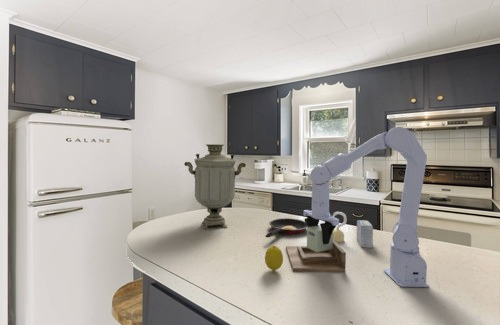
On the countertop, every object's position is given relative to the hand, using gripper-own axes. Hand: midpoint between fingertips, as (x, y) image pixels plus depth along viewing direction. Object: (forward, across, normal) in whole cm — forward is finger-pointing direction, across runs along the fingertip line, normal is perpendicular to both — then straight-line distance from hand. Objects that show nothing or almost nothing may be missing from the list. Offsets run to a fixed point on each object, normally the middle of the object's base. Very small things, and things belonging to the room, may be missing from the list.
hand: (319, 241), depth 87 cm
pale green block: (+2, 0, 0) cm, 2 cm away
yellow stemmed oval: (+7, +10, -21) cm, 24 cm away
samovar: (+6, +56, +14) cm, 59 cm away
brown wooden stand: (+6, +1, +2) cm, 7 cm away
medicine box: (+7, +2, -26) cm, 27 cm away
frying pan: (+7, +28, -6) cm, 29 cm away
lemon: (+7, +1, +19) cm, 20 cm away
